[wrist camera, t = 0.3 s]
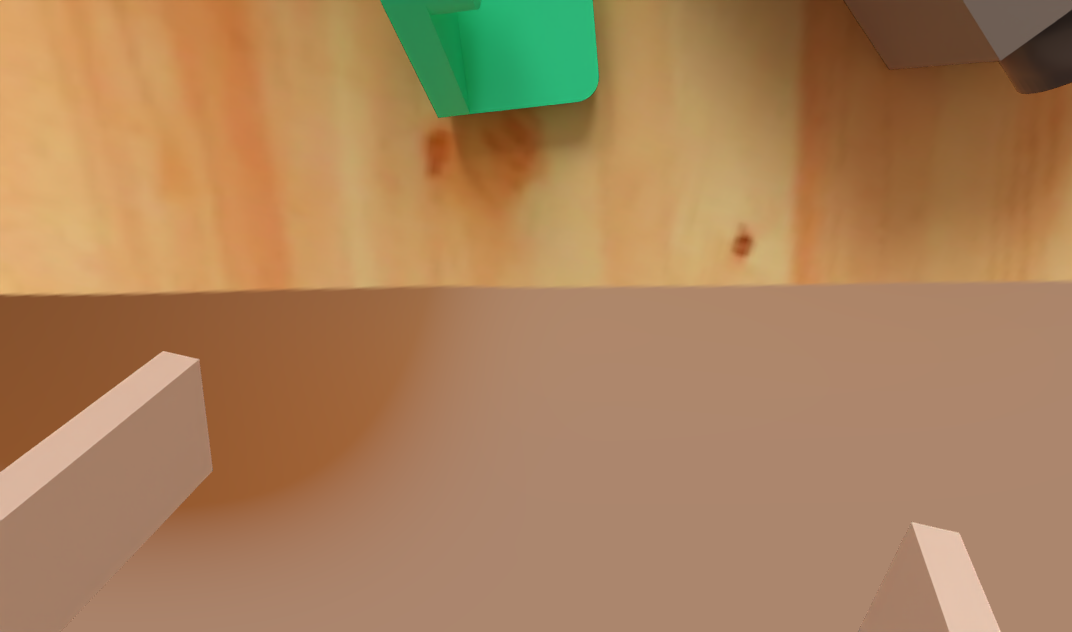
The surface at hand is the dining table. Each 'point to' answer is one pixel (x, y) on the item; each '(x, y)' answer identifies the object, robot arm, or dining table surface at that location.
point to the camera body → (974, 36)
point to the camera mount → (498, 52)
